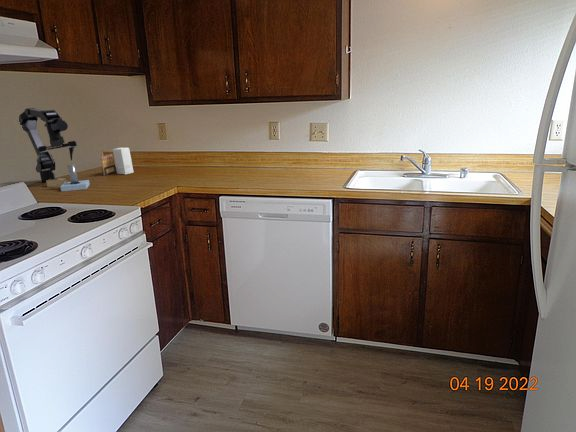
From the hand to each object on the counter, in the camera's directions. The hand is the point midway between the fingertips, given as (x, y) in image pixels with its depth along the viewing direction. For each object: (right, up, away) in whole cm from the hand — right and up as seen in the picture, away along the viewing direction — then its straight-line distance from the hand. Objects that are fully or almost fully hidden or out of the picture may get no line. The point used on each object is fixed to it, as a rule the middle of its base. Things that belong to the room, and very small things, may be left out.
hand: (62, 162), depth 230 cm
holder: (+10, -14, -6) cm, 19 cm away
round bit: (+10, -14, -6) cm, 19 cm away
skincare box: (+23, -3, +29) cm, 37 cm away
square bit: (-3, -13, +1) cm, 14 cm away
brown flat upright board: (+14, -4, +29) cm, 32 cm away
